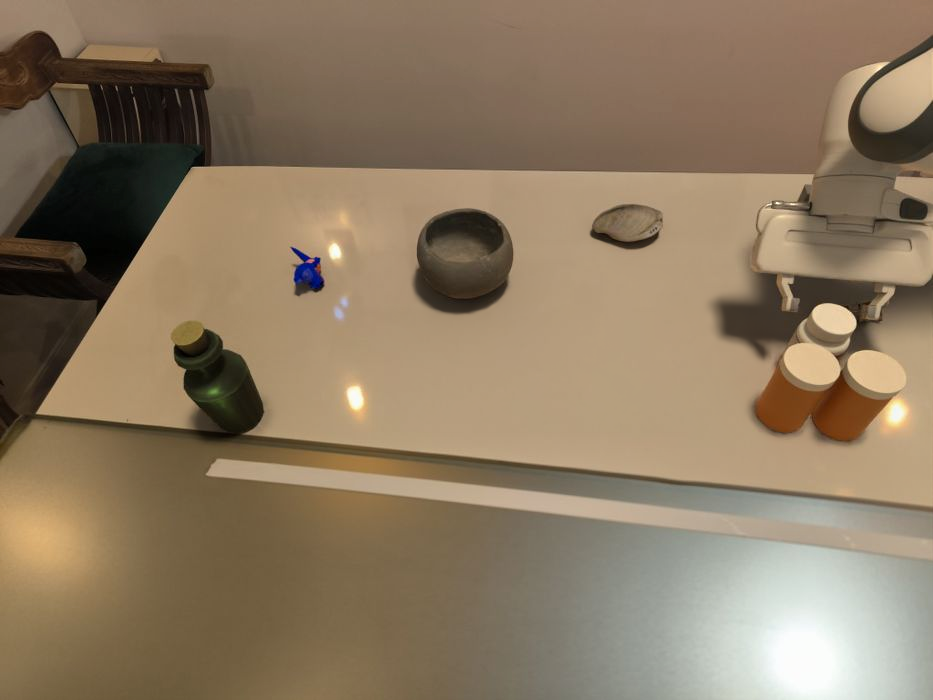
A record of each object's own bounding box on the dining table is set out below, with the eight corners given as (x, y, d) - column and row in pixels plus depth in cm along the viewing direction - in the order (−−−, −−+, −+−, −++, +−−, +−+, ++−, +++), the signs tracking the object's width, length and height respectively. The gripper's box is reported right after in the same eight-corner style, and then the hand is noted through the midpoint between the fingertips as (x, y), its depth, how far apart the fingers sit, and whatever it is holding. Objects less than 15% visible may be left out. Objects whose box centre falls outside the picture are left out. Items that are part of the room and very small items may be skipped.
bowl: (494, 240, 104) (492, 192, 96) (526, 299, 95) (528, 252, 87) (411, 262, 102) (403, 215, 94) (436, 325, 93) (429, 279, 85)
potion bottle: (252, 446, 82) (197, 366, 68) (200, 432, 84) (137, 352, 70) (280, 397, 87) (235, 313, 72) (231, 385, 88) (177, 301, 74)
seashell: (597, 253, 101) (600, 230, 97) (586, 221, 106) (589, 198, 102) (668, 246, 101) (674, 223, 97) (654, 214, 106) (660, 191, 102)
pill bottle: (820, 356, 85) (856, 302, 76) (828, 392, 82) (866, 339, 73) (774, 351, 86) (804, 297, 77) (779, 387, 83) (811, 334, 74)
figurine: (299, 297, 99) (290, 276, 95) (297, 266, 103) (289, 244, 100) (328, 291, 99) (320, 270, 95) (325, 261, 104) (317, 239, 100)
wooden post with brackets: (890, 323, 87) (890, 302, 84) (826, 331, 91) (824, 311, 88) (888, 314, 88) (888, 293, 85) (824, 322, 92) (822, 302, 89)
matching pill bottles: (752, 390, 83) (781, 339, 74) (858, 404, 80) (900, 353, 72) (756, 429, 79) (786, 380, 70) (867, 444, 77) (912, 396, 68)
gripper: (767, 195, 74) (749, 307, 76) (953, 208, 71) (929, 326, 73) (753, 202, 81) (736, 305, 82) (923, 214, 77) (902, 322, 79)
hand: (828, 315), depth 78 cm, fingers open, 8 cm apart
